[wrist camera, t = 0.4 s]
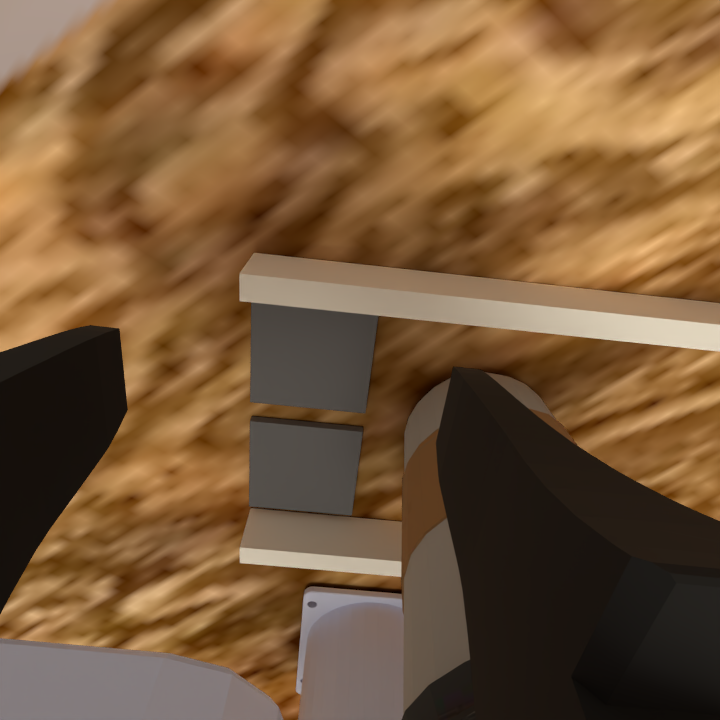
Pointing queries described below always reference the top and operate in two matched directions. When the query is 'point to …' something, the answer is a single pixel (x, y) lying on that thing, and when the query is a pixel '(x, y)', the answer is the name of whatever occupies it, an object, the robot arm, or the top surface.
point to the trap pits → (307, 405)
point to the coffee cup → (437, 569)
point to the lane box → (449, 305)
